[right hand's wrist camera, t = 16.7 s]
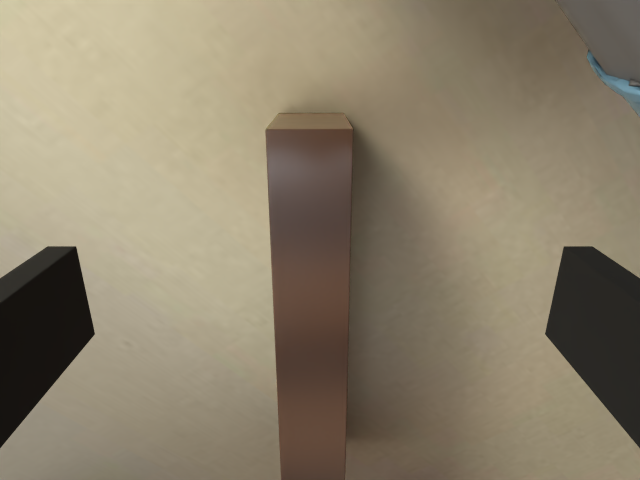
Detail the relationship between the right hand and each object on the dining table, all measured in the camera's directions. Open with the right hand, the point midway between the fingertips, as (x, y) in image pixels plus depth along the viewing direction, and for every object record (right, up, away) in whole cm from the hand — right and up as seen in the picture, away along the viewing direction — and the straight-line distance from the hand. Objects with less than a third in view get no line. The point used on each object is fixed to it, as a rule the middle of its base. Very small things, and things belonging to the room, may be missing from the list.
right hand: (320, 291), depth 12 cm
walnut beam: (0, -3, +20) cm, 20 cm away
